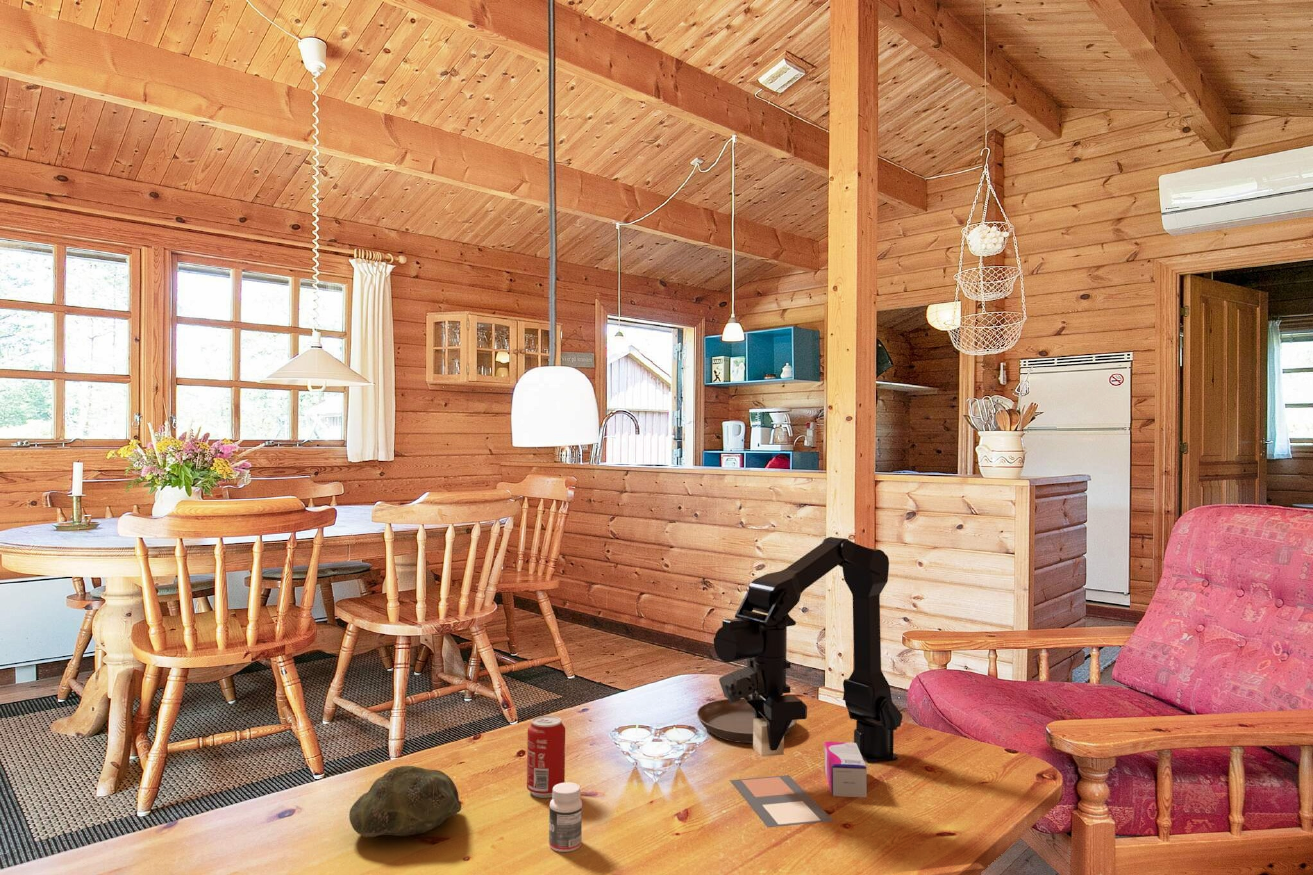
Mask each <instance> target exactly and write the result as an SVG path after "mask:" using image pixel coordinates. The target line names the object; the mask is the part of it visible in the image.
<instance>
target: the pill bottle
mask: <svg viewBox="0 0 1313 875" xmlns="http://www.w3.org/2000/svg"><path fill="white" fill-rule="evenodd" d="M580 797H581V786H580V785H579V784H578V783H575V782H567V781H566V782H565V783H559V784H557V785H555V786H554V787H553V793H552V797H551V800H550V801H549V816H548V817H549V819H548V820H549V821H548V822H549V824H548V827H549V828H548V829H549V831H548V832H549V833H548V845H549V847H550V849H552V850H553V851H555V852H559V853H560V852H561V853H569V852H574V851H576V850H578V849H579V848H580V847H581V845H582V842H583V841H582V839H583V837H582V831H583V830H582V827H583V826H582V825H583V824H582V822H583V801H582V799H581V798H580Z"/></svg>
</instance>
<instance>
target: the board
mask: <svg viewBox="0 0 1313 875" xmlns="http://www.w3.org/2000/svg"><path fill="white" fill-rule="evenodd" d="M729 782H730V783H731V785H733V787H734V788H735V789H736V790H737V791H738V793H739V795H741V796H742V798H743V799H744V800H745V801H746V803H747V804H748V805H749V807H750V808H751V809H752V810H753V811H754V813H755V814H756V815H757V817H758V818H759V819H760V821H762V822H763V824H764V825H765V826H766V827H767V828H776V827H777V828H778V827H788V826H794V825H795V826H797V825H805V824H815V823H825V822H834V821H835V820H834V818H832V816H830V815H829V814H828V813H827V812H826V810H824V809H823V807H822V806H820V805H819V804H818V803H817V802H816V801H815V800H814V799H813V798H812V796H810V795H809V794H808V793H807V792H806V791H805V789H804V788H802V787H801V786H800V785H799V784H798V783H797V781H796V780H794V779H793V777H792V776H790V774H787V775H786V774H784V775H775V776H762V777H751V778H740V779H730V780H729Z"/></svg>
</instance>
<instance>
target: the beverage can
mask: <svg viewBox="0 0 1313 875" xmlns="http://www.w3.org/2000/svg"><path fill="white" fill-rule="evenodd" d="M562 721H563V720H562V718H560V717H558V716H555V715H541V716H537V717H534V718H532V719H531V724H530V725H529V726H528V728H527V736H526V737H527V738H526V740H527V743H526V744H527V747H526V788H527V790H528V791H529V792H530V793H531V795H532V796H534V797H536V798H541V799H548V798H552V793H553V787H554V786H555V785H557V784H559V783H566V782H565V780H566V779H565V778H566V774H565V773H566V769H565V768H566V726H565V725H564V724H563V723H562Z"/></svg>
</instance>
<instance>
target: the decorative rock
mask: <svg viewBox="0 0 1313 875" xmlns="http://www.w3.org/2000/svg"><path fill="white" fill-rule="evenodd" d="M461 810H462V805H461V802H460V799H459V792H458V789H457V787H456V784H455V782H454V781H453V780H452V778H451V777H450V776H449V775H448V774H446V773H445V772H444V771H442V770H438V769H427V768H423V767H420V766H414V765H401V766H397V767H396V766H395V767H393V768H392V769H390V770H388V771H387V772H386V773H384V775H382V776H381V777H378V778H377V779H376V780H374V782H373V783H372V785H371V786H370V788H369V790H368V791H367V792H365V793H363V794H362V795H361V796H359V797H358V799H357V800H355V802H354V803H353V804H352V806H351V807H350V809H349V816H348V817H349V822H350V824H351V827H352V829H353V830H354V831H355V832H356V833H357V834H358V835H360V836H363V837H366V838H374V837H378V836H382V835H383V836H396V837H397V836H400V837H407V836H412V835H414V836H418V835H421V834H423V833H426V832H428V831H431V830H433V829H434V828H437V827H438V826H440V825H441V824H443V823H444V821H445V820H447V819H448V818H450V817H452V816H454V815H456V814H459V813H460V811H461Z"/></svg>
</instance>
